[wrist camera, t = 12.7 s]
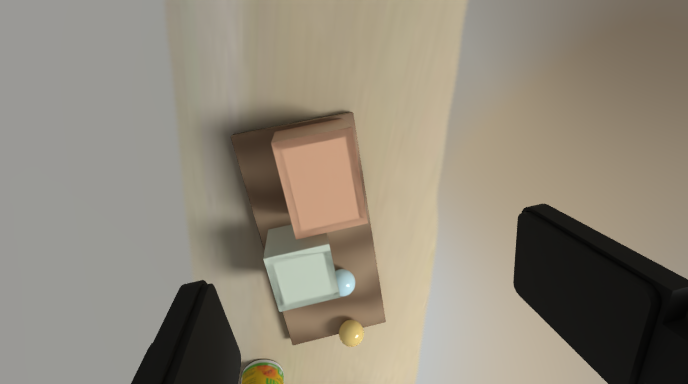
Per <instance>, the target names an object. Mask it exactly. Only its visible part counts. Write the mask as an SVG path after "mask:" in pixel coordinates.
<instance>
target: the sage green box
mask: <svg viewBox="0 0 688 384" xmlns="http://www.w3.org/2000/svg"><path fill="white" fill-rule="evenodd" d="M263 260H264V263H265V266H266V270H267V273H268V276H269V280H270V283H271V286H272V289H273V293H274V296H275V299H276V303H277V306H278V309H279V312H282V311H286V310H290V309H294V308H298V307H303V306H307V305H311V304H315V303H319V302H323V301H327V300H331V299H336V298H340V293H339V288H338V283H337V278H336V274H335V269H334V264H333V260H332V255H331V250H330V246H329V241H328V236H327V233H323V234H319V235H315V236H310V237H306V238H302V239H297V240H296V238H295V234H294V230H293V226H292V224H291V225H287V226H282V227H278V228H273V229H268V234H267V240H266V246H265V252H264V258H263Z"/></svg>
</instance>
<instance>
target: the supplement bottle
mask: <svg viewBox="0 0 688 384" xmlns="http://www.w3.org/2000/svg"><path fill="white" fill-rule="evenodd" d="M283 381H284V373H283V369H282V368H281V366H280V365H279V364H278V363H276V362H274V361H272V360H257V361H254V362H252V363H250V364H249V365H248V366H247V367H246V368H245V369H244V371H243V373H242V376H241V381H240V384H283Z"/></svg>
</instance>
